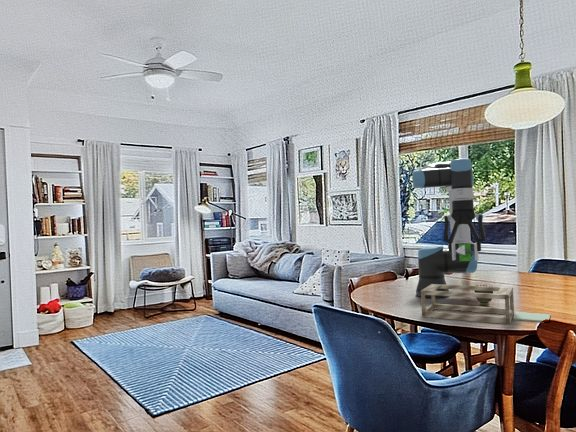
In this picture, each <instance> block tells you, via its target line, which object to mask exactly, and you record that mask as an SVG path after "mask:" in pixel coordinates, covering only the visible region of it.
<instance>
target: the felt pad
mask: <svg viewBox="0 0 576 432" xmlns="http://www.w3.org/2000/svg"><path fill="white" fill-rule="evenodd" d="M545 319H551V314H550V313H538V312H537V313H535V312H525V311H524V312H521V311H516V312H514V316H513V318H512V320H513V321H521V322H534V323H541V322H540V321H542V320H545Z"/></svg>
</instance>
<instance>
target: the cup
mask: <svg viewBox="0 0 576 432" xmlns="http://www.w3.org/2000/svg"><path fill="white" fill-rule="evenodd" d="M476 286H487V287H494V286H493V285H492V286H491V285H487V284H486V285H481V284H480V285H476ZM473 291H474V293H489V294H494V291H479V290H473ZM475 299H476V301H478V302H479V305H480V307H489V306H490V302H491V301H492V300H493V299H492V298H475Z"/></svg>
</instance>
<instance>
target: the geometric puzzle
mask: <svg viewBox="0 0 576 432" xmlns="http://www.w3.org/2000/svg"><path fill="white" fill-rule="evenodd" d="M471 247H472V246H471V245H470V244H459V248H457V250H456V251H455V252H456V256H457V254H459V259H460V261H471V254H473V255H474V254H475V250H474V251H471ZM472 250H473V249H472ZM472 259H473V257H472Z"/></svg>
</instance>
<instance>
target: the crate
mask: <svg viewBox="0 0 576 432" xmlns="http://www.w3.org/2000/svg"><path fill="white" fill-rule="evenodd" d="M437 289H449V291H436V290H437ZM450 290H458V291H450ZM459 290H462V291H459ZM474 290H479V291H493V292H496V293H493V294H489V293H475V292H467V291H474ZM425 295H431V298H430V299H431V300H430V301H431V304H430V305H428V306H427V305H426V298H425ZM435 295H438V296H448V297H456V298H457V297H458V298H459V297H460V298H475V299H476V298H492V300H493V299H494V300H504V307H494V306H493V307H491V306H490V307H489V306H477V305H476V306H474V305H459V304H448V303H447V304H445V303H436V298H435ZM420 301H421V303H420V304H421V316H424V317H423V318H431V317H433V319H434V318H435V319H442V320H443V319H445V320H456V321H469V322H481V323H491V324H495V323H496V324H505V325H511V322H512V320H513V318H514V315H515V304H514V303H515V302H514V301H515V300H514V287H510V286H509V287H508V286H507V287H506V286H493V287H491V286H490V287H489V286H488V285H487V286H486V285H484V286H483V285H481V286H480V285H478V286H477V285H464V284H463V285H461V284H459V285H457V284H456V285H455V284H447V285H440V284H431V285H429V286H428V287H426V288H424V289H423V290H421V297H420ZM426 306H427V307H426ZM435 308H436V309H435ZM440 309H447V311H454V310H461V311H460V312H468V311H472V312H471V313H481V312H483V313H482V314H483V315H482V314H481V315H479V314H468V313H467V314H466V313H455V312H442V311H441V312H440V311H434V310H440ZM432 310H433V311H432ZM431 311H432V312H431ZM485 313H486V314H495V313H496V314H498V315H505V316H496V315H494V316H493V315H484V314H485Z"/></svg>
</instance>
